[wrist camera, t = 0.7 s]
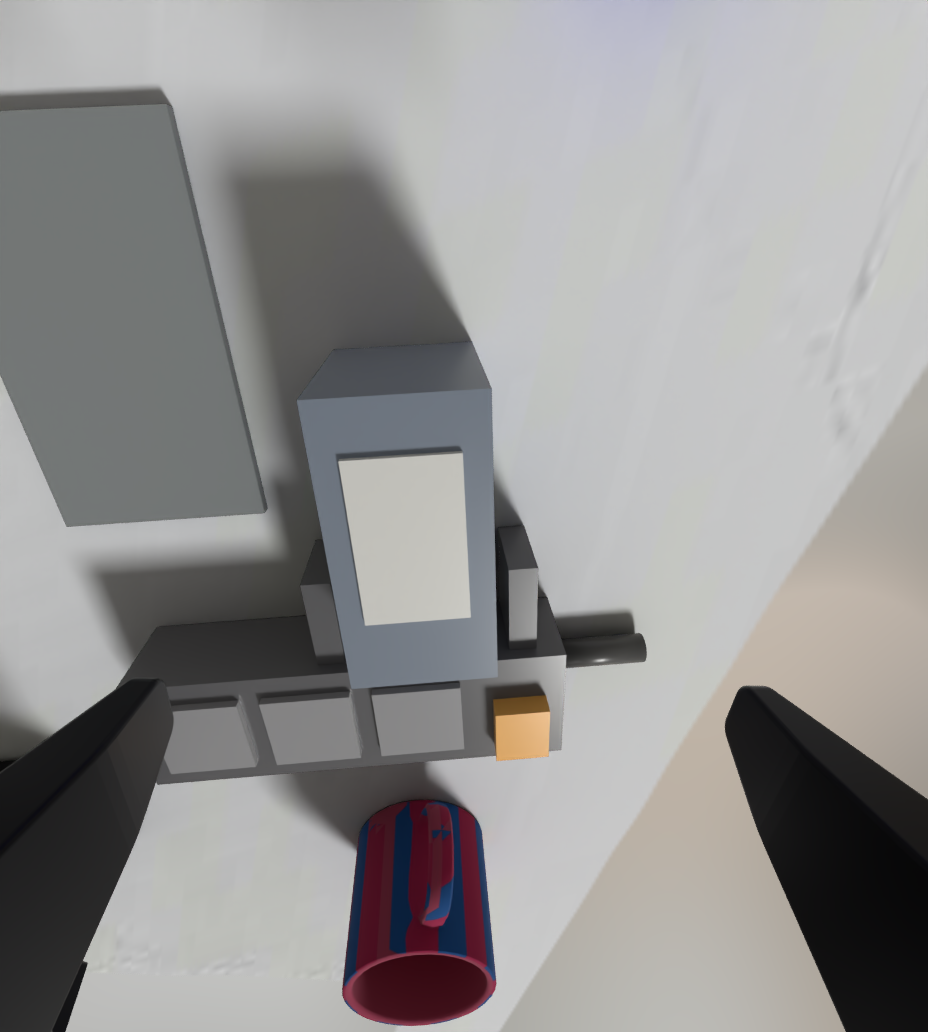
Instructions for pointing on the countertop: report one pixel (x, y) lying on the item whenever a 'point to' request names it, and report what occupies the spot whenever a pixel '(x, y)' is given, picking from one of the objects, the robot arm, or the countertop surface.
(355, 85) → the countertop surface
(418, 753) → the power strip
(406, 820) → the mug
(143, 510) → the mat
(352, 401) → the block
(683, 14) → the countertop surface
